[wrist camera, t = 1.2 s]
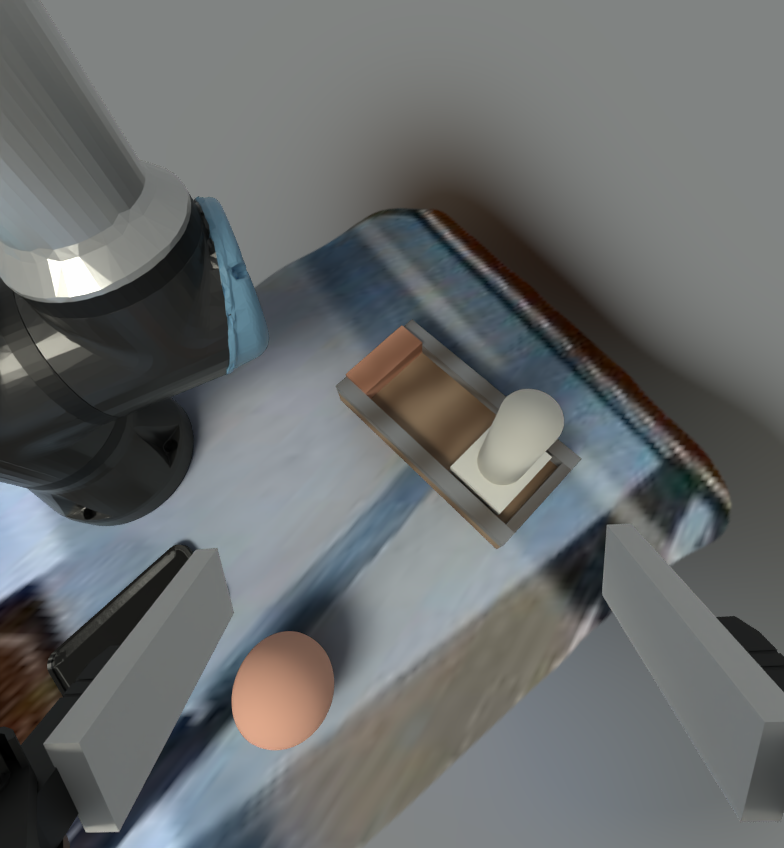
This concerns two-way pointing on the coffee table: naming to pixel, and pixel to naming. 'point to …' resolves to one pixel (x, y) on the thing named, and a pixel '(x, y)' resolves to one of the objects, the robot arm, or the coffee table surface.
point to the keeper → (511, 448)
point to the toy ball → (282, 691)
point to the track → (441, 423)
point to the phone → (115, 618)
